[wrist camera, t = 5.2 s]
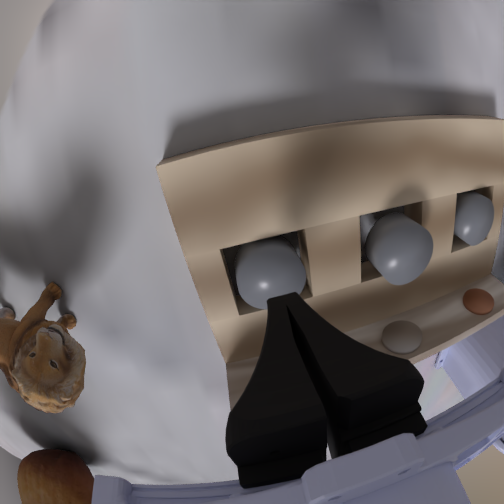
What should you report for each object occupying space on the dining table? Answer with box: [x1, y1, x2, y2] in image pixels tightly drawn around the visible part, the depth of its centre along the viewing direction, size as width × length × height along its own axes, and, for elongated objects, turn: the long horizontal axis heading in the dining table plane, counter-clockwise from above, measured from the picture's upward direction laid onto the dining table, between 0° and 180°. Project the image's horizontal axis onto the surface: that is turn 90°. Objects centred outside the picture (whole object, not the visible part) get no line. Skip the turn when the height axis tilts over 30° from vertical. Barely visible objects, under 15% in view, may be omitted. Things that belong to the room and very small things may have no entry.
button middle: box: [365, 213, 433, 285], centre depth 15 cm, size 4×4×2 cm
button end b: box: [234, 235, 306, 310], centre depth 16 cm, size 4×4×2 cm
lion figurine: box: [0, 282, 86, 413], centre depth 13 cm, size 15×5×9 cm, turn 91°
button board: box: [156, 115, 504, 410], centre depth 15 cm, size 14×23×6 cm, turn 102°
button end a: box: [453, 190, 494, 246], centre depth 16 cm, size 4×4×2 cm
